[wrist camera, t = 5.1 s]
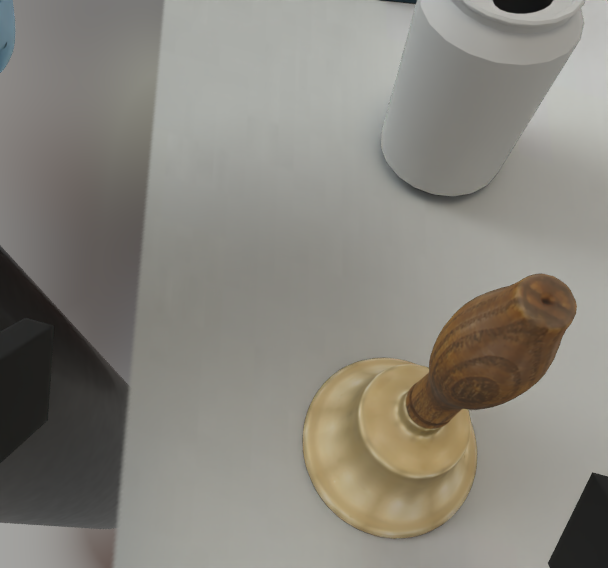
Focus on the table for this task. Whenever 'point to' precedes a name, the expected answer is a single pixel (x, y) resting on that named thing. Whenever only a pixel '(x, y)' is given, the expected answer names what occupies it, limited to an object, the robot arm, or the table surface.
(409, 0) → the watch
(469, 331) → the hand bell
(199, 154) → the table surface
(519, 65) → the can
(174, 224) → the table surface
